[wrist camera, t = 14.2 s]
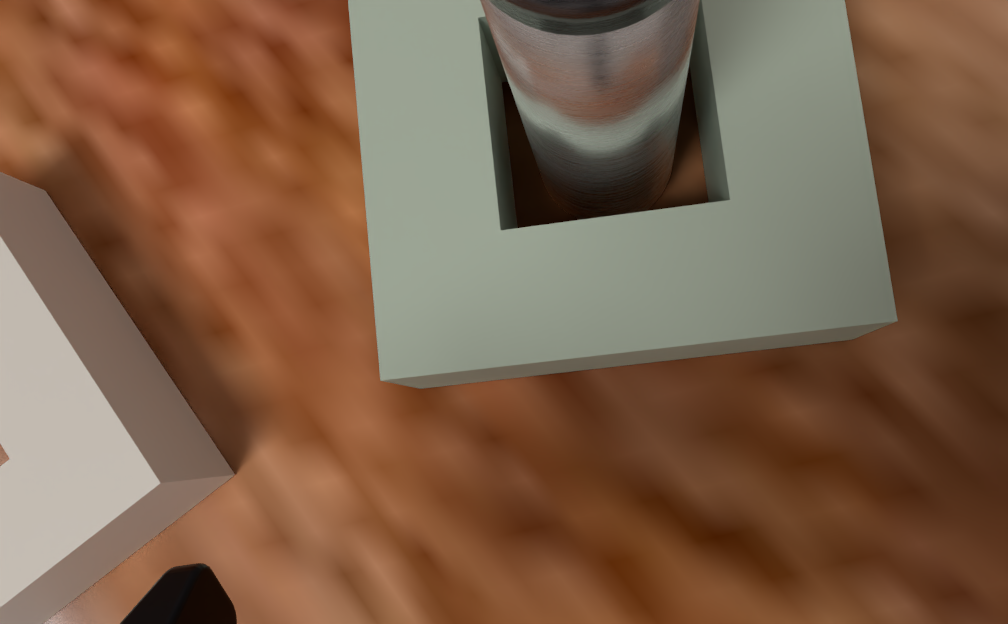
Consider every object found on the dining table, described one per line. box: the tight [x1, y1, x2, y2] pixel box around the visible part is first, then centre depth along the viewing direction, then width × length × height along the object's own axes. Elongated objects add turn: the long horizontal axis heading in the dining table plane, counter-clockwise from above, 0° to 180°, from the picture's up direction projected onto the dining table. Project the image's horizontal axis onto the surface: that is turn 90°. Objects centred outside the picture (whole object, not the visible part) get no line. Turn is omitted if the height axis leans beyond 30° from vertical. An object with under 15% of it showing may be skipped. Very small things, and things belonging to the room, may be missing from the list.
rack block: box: [348, 0, 898, 389], centre depth 22 cm, size 11×11×4 cm
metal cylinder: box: [480, 0, 700, 220], centre depth 18 cm, size 4×4×13 cm
